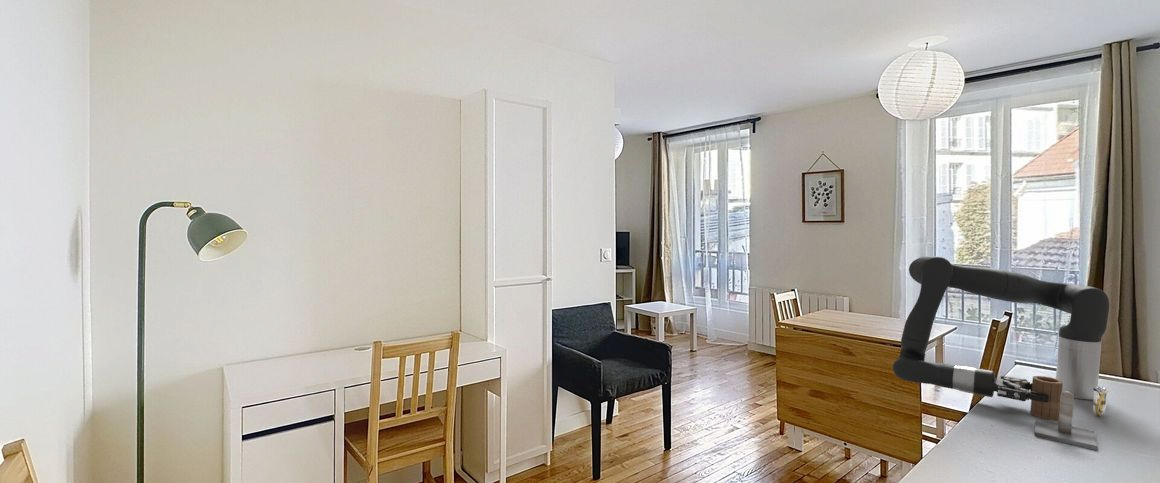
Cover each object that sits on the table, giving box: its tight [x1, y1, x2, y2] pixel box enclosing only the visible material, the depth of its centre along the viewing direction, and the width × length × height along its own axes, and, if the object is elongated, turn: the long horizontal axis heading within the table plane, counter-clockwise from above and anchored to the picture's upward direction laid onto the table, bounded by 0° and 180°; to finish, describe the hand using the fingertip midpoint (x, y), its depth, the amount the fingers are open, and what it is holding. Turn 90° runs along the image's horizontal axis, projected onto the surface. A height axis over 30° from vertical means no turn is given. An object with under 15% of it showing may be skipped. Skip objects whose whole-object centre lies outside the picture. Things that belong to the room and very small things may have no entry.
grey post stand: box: [1034, 391, 1099, 451], centre depth 128 cm, size 11×11×11 cm
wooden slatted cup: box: [1030, 375, 1063, 421], centre depth 140 cm, size 6×6×10 cm
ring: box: [1092, 385, 1110, 417], centre depth 141 cm, size 7×3×8 cm, turn 117°
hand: (1048, 394), depth 140 cm, fingers open, 8 cm apart
